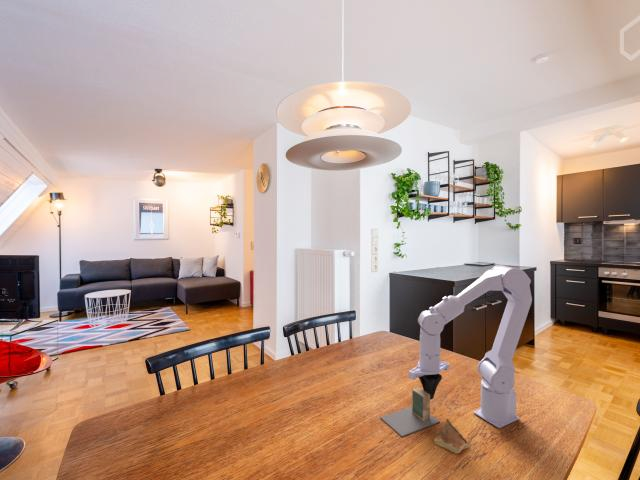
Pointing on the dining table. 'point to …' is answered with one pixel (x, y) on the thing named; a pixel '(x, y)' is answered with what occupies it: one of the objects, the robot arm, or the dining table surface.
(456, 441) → the shard
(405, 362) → the dining table surface
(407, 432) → the felt mat
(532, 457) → the dining table surface
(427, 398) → the beech block
